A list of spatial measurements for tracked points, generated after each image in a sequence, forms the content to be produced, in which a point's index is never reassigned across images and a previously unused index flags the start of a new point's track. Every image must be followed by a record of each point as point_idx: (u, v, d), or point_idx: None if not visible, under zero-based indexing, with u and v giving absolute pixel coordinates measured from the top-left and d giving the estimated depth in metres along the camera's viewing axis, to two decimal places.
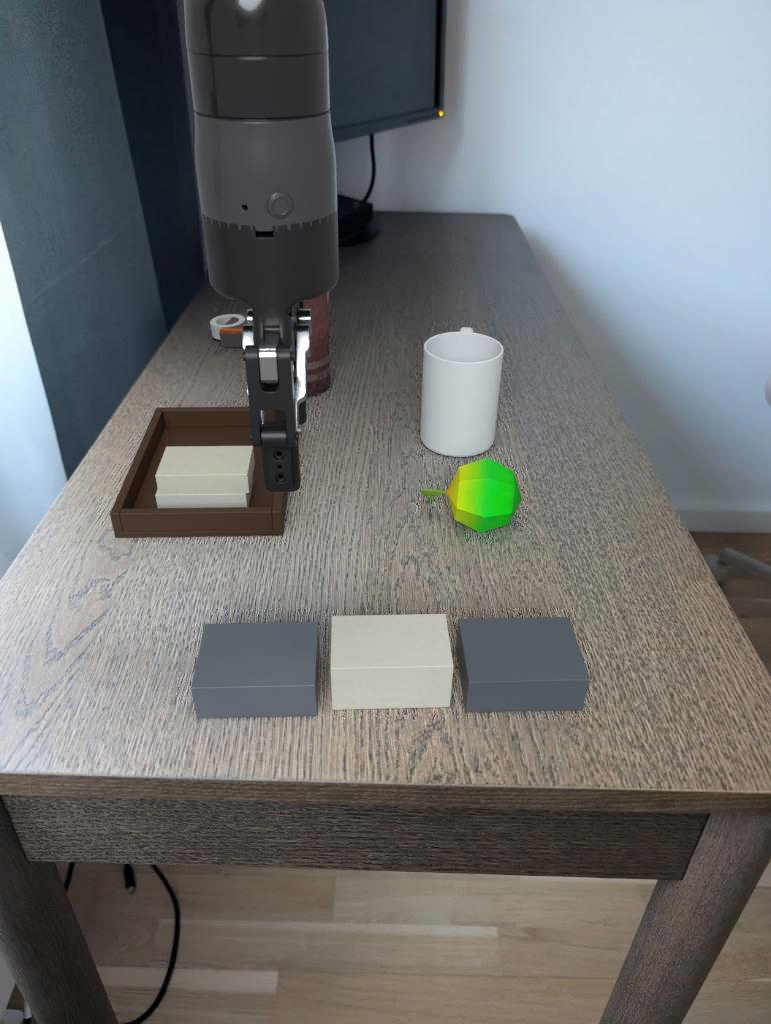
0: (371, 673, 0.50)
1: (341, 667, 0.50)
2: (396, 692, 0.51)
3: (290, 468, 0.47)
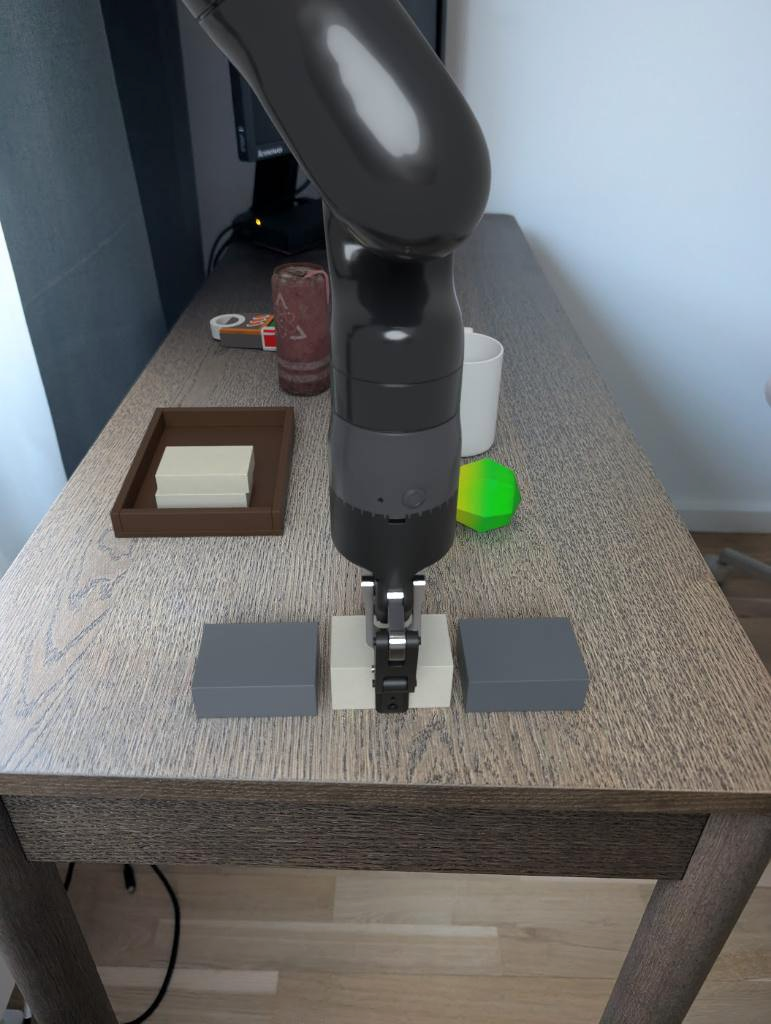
0: (371, 673, 0.50)
1: (341, 667, 0.50)
2: None
3: (402, 699, 0.50)
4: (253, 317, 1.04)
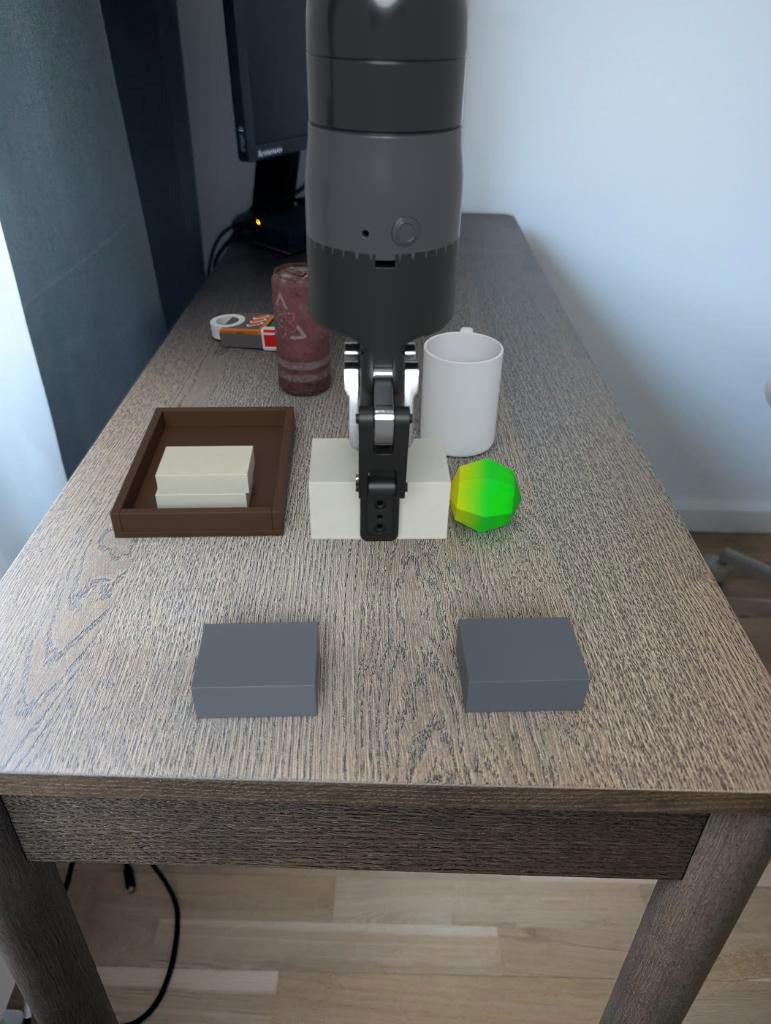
0: None
1: (321, 481, 0.43)
2: None
3: (391, 518, 0.43)
4: (253, 317, 1.04)
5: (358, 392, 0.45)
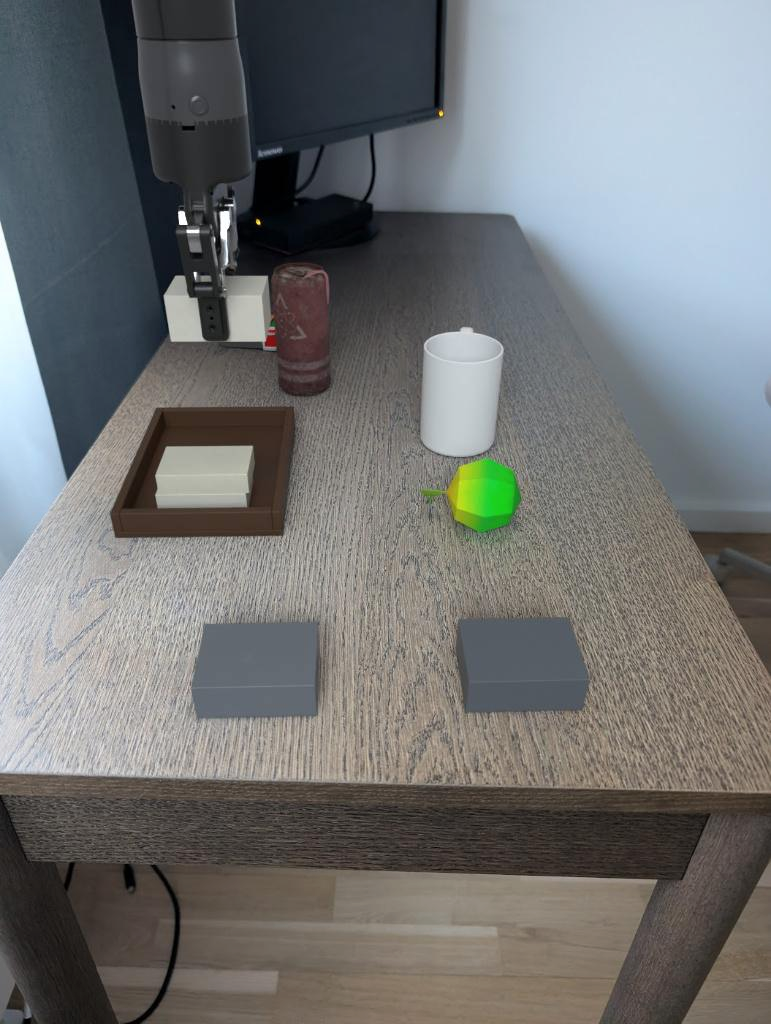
0: (197, 302, 0.63)
1: (172, 295, 0.63)
2: None
3: (219, 319, 0.63)
4: None
5: None
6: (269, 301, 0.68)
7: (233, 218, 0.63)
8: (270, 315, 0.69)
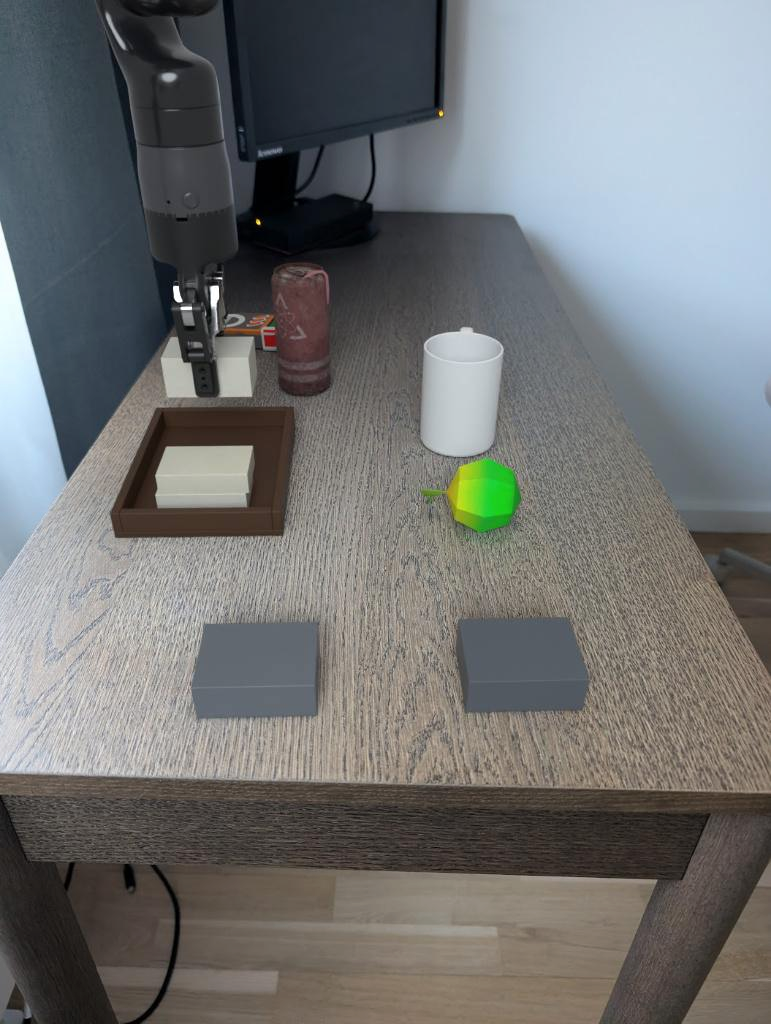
0: (190, 363, 0.71)
1: (168, 357, 0.71)
2: None
3: (210, 379, 0.71)
4: (253, 317, 1.04)
5: None
6: (255, 358, 0.76)
7: (222, 289, 0.71)
8: (256, 370, 0.77)
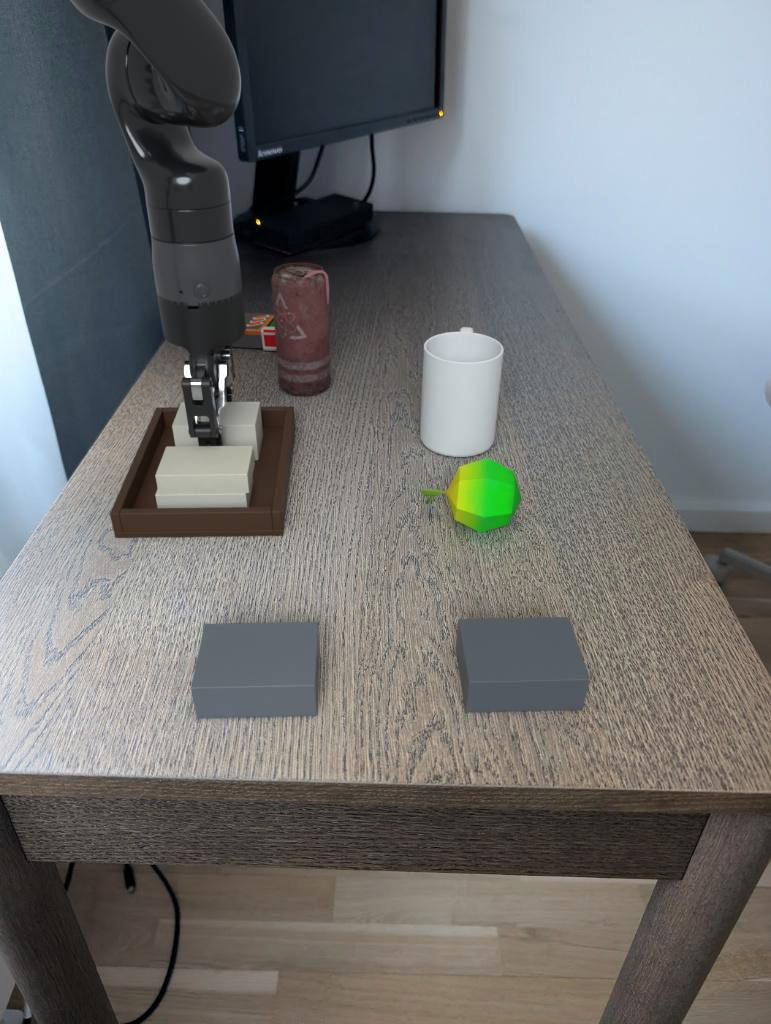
0: None
1: (179, 425, 0.75)
2: None
3: None
4: (253, 317, 1.04)
5: None
6: (261, 421, 0.80)
7: (230, 365, 0.75)
8: (262, 432, 0.81)
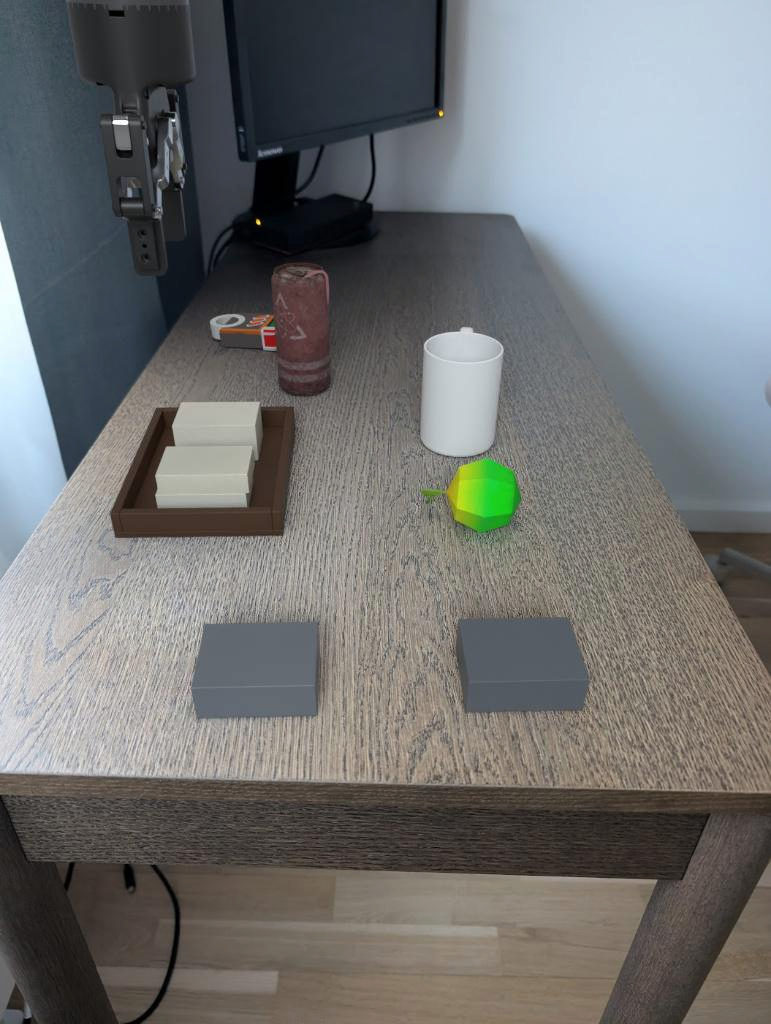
0: (200, 430, 0.75)
1: (179, 425, 0.75)
2: None
3: (154, 248, 0.53)
4: (253, 317, 1.04)
5: None
6: (261, 421, 0.80)
7: (176, 136, 0.55)
8: (262, 432, 0.81)
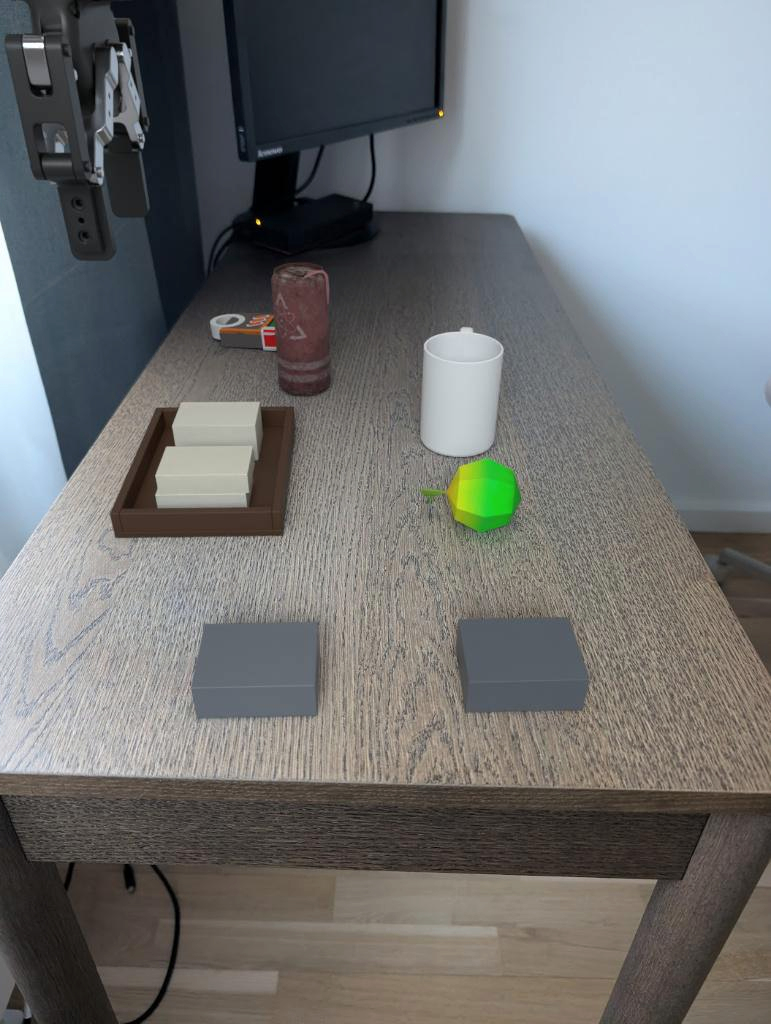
0: (200, 430, 0.75)
1: (179, 425, 0.75)
2: None
3: (94, 223, 0.39)
4: (253, 317, 1.04)
5: None
6: (261, 421, 0.80)
7: (126, 76, 0.41)
8: (262, 432, 0.81)
